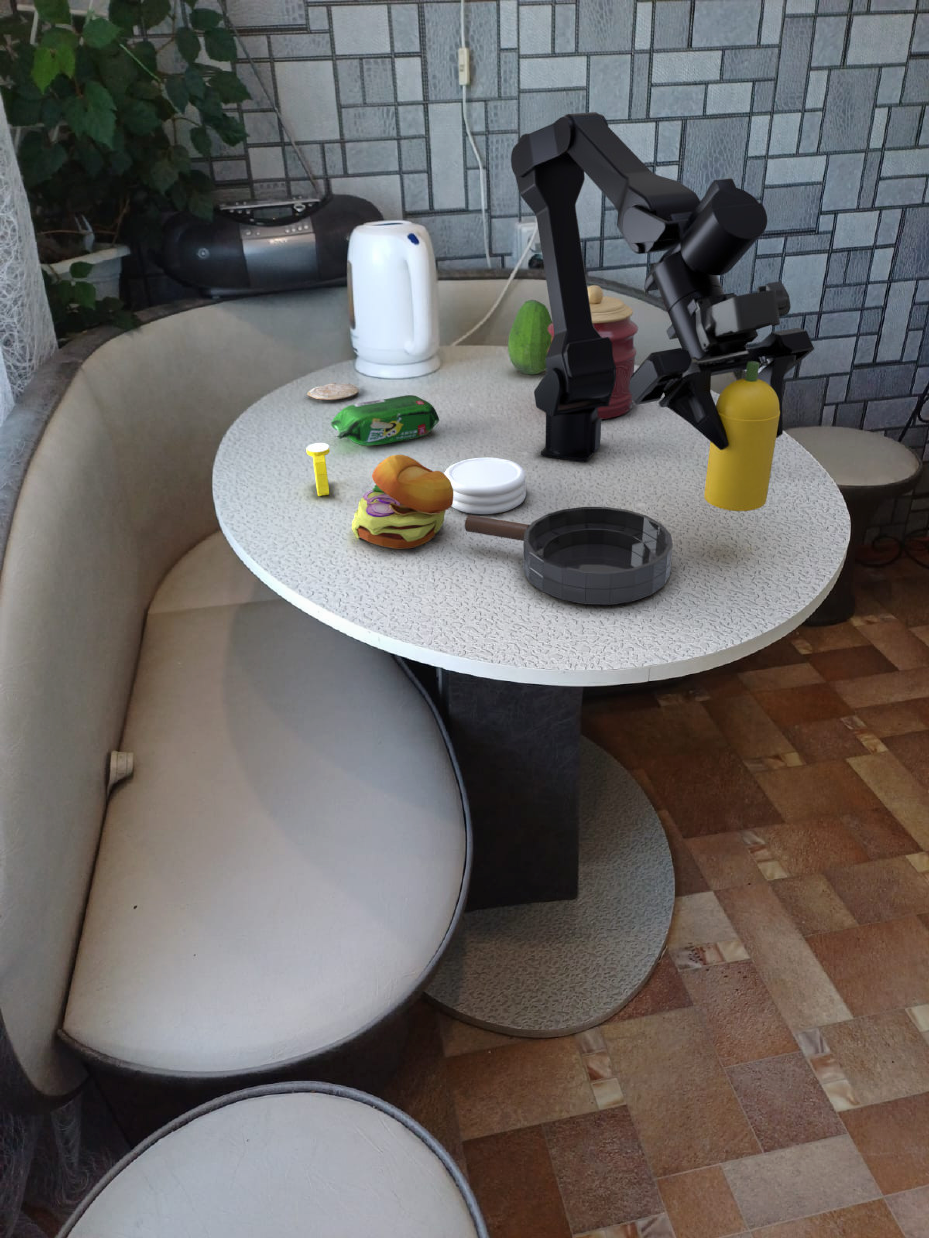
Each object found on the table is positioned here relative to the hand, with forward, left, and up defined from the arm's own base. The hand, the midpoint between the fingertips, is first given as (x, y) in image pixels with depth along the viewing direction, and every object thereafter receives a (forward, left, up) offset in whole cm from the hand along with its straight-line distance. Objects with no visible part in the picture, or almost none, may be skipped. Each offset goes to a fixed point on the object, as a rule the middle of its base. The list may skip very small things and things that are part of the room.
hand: (751, 442), depth 92 cm
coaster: (-31, +5, -13) cm, 34 cm away
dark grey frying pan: (-13, -8, -13) cm, 20 cm away
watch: (-51, 0, -13) cm, 53 cm away
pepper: (-1, +1, -7) cm, 7 cm away
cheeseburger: (-36, -7, -13) cm, 39 cm away
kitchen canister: (-29, +41, -13) cm, 52 cm away
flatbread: (-69, +33, -13) cm, 78 cm away
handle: (-24, -8, -11) cm, 27 cm away
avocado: (-43, +54, -13) cm, 71 cm away
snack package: (-52, +19, -13) cm, 57 cm away
